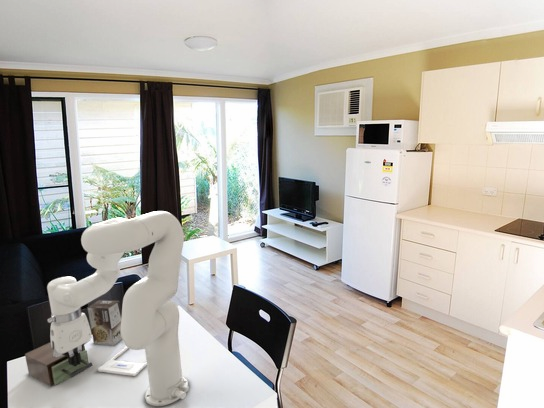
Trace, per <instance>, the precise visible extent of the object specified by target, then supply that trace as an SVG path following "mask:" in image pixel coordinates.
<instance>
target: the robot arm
mask: <svg viewBox="0 0 544 408" xmlns="http://www.w3.org/2000/svg"><path fill="white" fill-rule="evenodd" d="M184 235H185V234H184V229H183V226H182V224H181V223H180V220H178V218H177V217H176V216H175V215H174V214H172V213H170V212H168V211H164V210H157V211H151V212H148V213H145V214H141V215H139V216H136V217H133V218H129V219H128V218H124V217H114V218H111V219H107V220H104V221H101V222H97V223H95V224H92V225H89V226H88V227H87V228H86V229H85V230H83V232H82V234H81V238H80V242H81V243H80V244H81V246H82V248H83V250H84V251H85V252H86V253H87V254H86V261H87V263H88V265H90V267H92V268H94V269H96V270H95V272H94V273H92V274H91V275H89V276H86V277H85V278H82V279H80V280H78V281H77V279H76V278H75V277H73V276H61V277H57V278H54V279H52V280H51V281H49V282H48V283H47V286H46V290H47V294H48V300H49V306H50V312H51V314H50V317H49V318H47V323H49V324H50V328H49V329H50V333H49V334H50V335H49V338H50V342H51V347H52V350H53V351H54V353H53V356H54V357H59V356H62V355H65V356H68V362H69V364H70V365H73V366H75V367H76V366H77V365H79V364H81V362H80V360H81V355H80V352H81V351H82V348H83V346H85V345H86V344H87V343H89V342H90V341H91V340H92V339H93V336H92V330H91V325H90V321H89V319H88V317H87V315H86V312H82V307H83V306H85V305H87V304H89V303H91V302H93V301H95V300H96V299H98V298H100V297H102V296H103V295H105V294H107V293H108V292H109V291H110V290H111V289H112V288H113V287H114V285H115V283H116V282H117V280H118V279H119V277H120V274H121V267H120V261H121V259H122V257H123V256H124V254H125V253H128V252H129V253H130V252H134V251H138V250H140V249H143V248H145V247H148V246H149V245H151V244H154V246H153V248H152V250H151V253H150V255H149V258H148V267H147V271H146V272H147V273H146V275H145V276H144V277H143V278H142V279H140V280H138V281H136V282H135V283H133V284H132V285H131V286H130V287H128V289H127V290H126V292H125V294H124V296H123V298H122V305H121V306H122V307H121V316H122V318H121V337H122V339H121V341H122V342H123V343H124V345H125V347H126V346H127V347H128V349H130V350H133V351H141V350H144V352H145V362H146V361H147V365H146V368H147V369H146V370H147V375H148V384H149V387H148V388H147V390H146V391H145V394H144V398H145V403H147V404H148V405H150V406H153V407H163V406H168V405H170V404H173V403H175V402H177V401H178V400H179V399H181V400H184V399H186V397H187V392H189V390H190V386H189V381H188V379H187V377H184V376H183V372H182V362H181V351H180V341H179V324H180V309H179V307H178V305H177V304H176V302H175V301H173V300H171V299H173V298H174V297H175V296H176V294H177V292H178V288H179V281H180V280H179V279H180V271H181V260H182V254H183V248H184V241H185V240H184V239H185V236H184ZM72 349H73V350H72Z"/></svg>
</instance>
